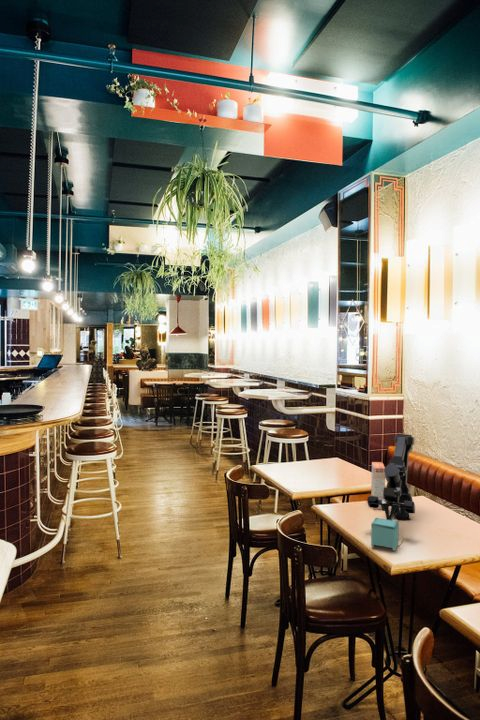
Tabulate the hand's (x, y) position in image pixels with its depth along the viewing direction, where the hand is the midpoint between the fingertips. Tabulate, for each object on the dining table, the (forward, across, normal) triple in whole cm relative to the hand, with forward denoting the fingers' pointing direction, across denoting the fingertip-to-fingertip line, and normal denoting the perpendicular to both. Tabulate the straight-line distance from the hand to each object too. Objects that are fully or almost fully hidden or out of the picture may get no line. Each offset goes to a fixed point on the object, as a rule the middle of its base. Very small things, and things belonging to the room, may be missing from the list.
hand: (388, 523), depth 199 cm
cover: (+10, 0, +1) cm, 10 cm away
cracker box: (-27, -14, +39) cm, 49 cm away
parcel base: (+4, 0, +6) cm, 8 cm away
